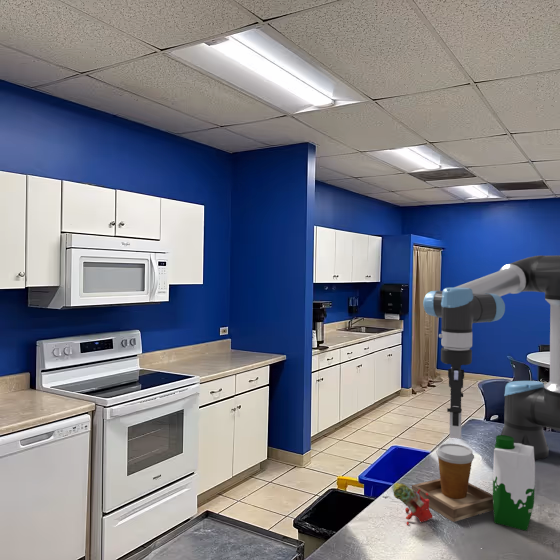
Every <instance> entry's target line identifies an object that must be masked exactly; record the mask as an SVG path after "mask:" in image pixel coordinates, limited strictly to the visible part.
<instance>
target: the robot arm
mask: <svg viewBox="0 0 560 560" xmlns="http://www.w3.org/2000/svg"><path fill="white" fill-rule="evenodd" d="M522 292H535V293H536V292H537V293H544V299H545V301H546V302H547V303H548V304H549V305H550V307H549V309H550V311H549V312H550V314H549V317H550V318H549V323H550V325H549V327H550V329H549V331H550V332H549V381H548V382H547V383H546V384H545V383H544V382H541V381H536V380H516V381H510V382H507V383H506V384H505V388H504V394H503V395H504V421H503V422H504V424H503V427H502V430H501V433H500V435H506V436H510V437H513V438H514V443H520V444H522V445H527V446H533V447H534V460H541V459H542V460H543V459H546V458H548V457H549V448H550V447H549V446H548V444H547V439H546V436H545V433H544V427H545V428H547V429H548V428H549V429H552V430H554V431H555V430H556V431H559V432H560V255H556V254H555V255H534V256H528V257H526V258H523V259H522V258H521V259H519V260H516V261H514V262H511V263H510V262H509V263H508V264H505V265H503V266H502V267H501V268H500V269H499V270H498V271H496V272H493V273H489V274H487V275H484V276H482V277H480V278H476V279H474V280H471V281H468V282H466V283H463V284H459V285H457V286H454V287H445V288H443V290H438V289H437V290H431V291H429V292H427V293H426V294H425V296H424V298H423V311H425V312H424V313H426V314H427V315H429V316H431V317H436V318H441V327H440V328H441V333H439V334H438V338H440V339H441V340H440V341H441V346H442V347H441V349H440V361H441V362H442V363H443V364H445V365H450V366H451V367H450V368H447V378H448V387H449V388H450V394H449V395H450V397H449V398H450V399H449V401H450V406H449V408H446V409H447V410H446V412H448V413H449V439H456V440H457V439H459V440H462V412H463V410H462V398H464V392H462V389H464V380H465V370H464V369H462V366H468V365H470V364H472V362H473V360H472V359H473V351H472V349H471V348H472V347H473V324H477V323H478V324H480V323H492V322H495V321H499V320H500V319H502V317H503V316H504V314H505V312H506V303H505V302H504V299H503V298H502V296H503V297H504V296H505V295H509V294H512V295H514V294H520V293H522Z"/></svg>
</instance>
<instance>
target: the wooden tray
mask: <svg viewBox="0 0 560 560" xmlns="http://www.w3.org/2000/svg"><path fill="white" fill-rule="evenodd" d="M411 489H413V490H414V491H415V492H418V491H419V489H420V492H419V494H420V496H421V497H423V498H424V499H429V500H430V501H429V509H432V510H433V511H435V512H436V513H438V514H439V515H441V516H443V517H445V518H447V519H448V520H449V521H451V522H453V523H455V522H459V521H461V520H465V519H468V518H472V517H476V516H478V514H479V515H483V514H486V513H489V512H492V510H493V511H494V509H493V493H490V492H488V491H486V490H484V489H482V488H480V487H478V486H476V485H474V484H472V483H470V482H469V483H468V489H467V495H466V497H465V498H462V499H454V498H449V497H447V496H445V495H443V494H442V490H441V480H440V478H436V479H432V480H428V481H423V482H420V483H416V484H412V485H411ZM426 493H428V496H427V495H426ZM485 512H486V513H485ZM482 513H483V514H482Z"/></svg>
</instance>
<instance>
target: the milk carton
mask: <svg viewBox="0 0 560 560" xmlns="http://www.w3.org/2000/svg"><path fill="white" fill-rule="evenodd" d="M535 460H536V459H534V447H533V446H527V445H522V444H520V443H514V438H513V437H510V436H506V435H501V434H498V435H496V436H495V444H494V449H493V465H492V467H493V468H492V469H493V471H492V472H493V473H492V475H493V476H492V477H493V478H492V495H493V509H494V510H493V520H494V521H493V523H494V524H497V525H503V526H506V527H510V528H514V529H517V530H522V531H528V529H529V525H530V521H531V518H532V514H533V510H534V506H535V487H536V486H535V485H536V464H535V463H536V461H535Z"/></svg>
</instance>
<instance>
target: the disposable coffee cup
mask: <svg viewBox="0 0 560 560" xmlns="http://www.w3.org/2000/svg"><path fill="white" fill-rule="evenodd" d="M436 456H437V458H438V460H437V461H438V468H439V479H440V480H441V490H442V494H443V495H445V496H447V497H449V498H454V499H462V498H465V497H466V495H467V489H468V483H470V482H469V481H470V475H471V469H472V464H473V461H474V458H475V455H474V453H473V450H472V449H471V448H470V447H468V446H466V445H463V444H459V443H442V444H440V445H439V446H438V447H437V450H436Z"/></svg>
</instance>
